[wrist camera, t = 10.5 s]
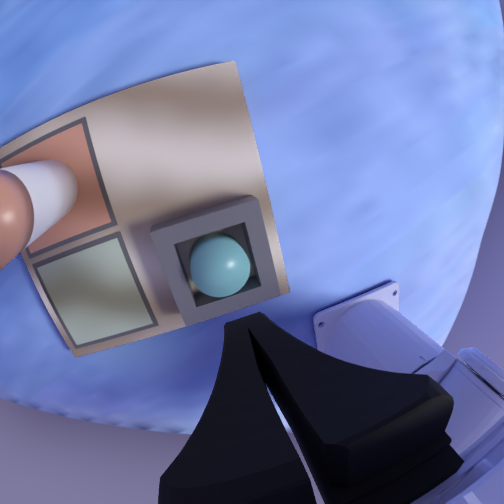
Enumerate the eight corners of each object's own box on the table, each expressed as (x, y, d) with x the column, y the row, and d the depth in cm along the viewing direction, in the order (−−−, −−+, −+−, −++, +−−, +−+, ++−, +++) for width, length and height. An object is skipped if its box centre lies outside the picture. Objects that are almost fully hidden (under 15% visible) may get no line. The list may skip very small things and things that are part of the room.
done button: (247, 273, 19) (256, 286, 17) (198, 288, 19) (201, 304, 17) (234, 224, 18) (242, 233, 16) (182, 241, 18) (183, 252, 16)
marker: (86, 207, 16) (32, 254, 8) (38, 229, 15) (-30, 285, 8) (67, 148, 14) (-3, 156, 7) (18, 174, 14) (-63, 200, 6)
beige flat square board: (285, 285, 22) (290, 292, 21) (78, 349, 19) (74, 358, 18) (231, 64, 16) (235, 60, 15) (-3, 153, 14) (-12, 154, 13)
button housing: (273, 283, 20) (280, 294, 19) (184, 312, 19) (185, 326, 18) (251, 194, 18) (258, 199, 16) (152, 225, 17) (149, 232, 16)
